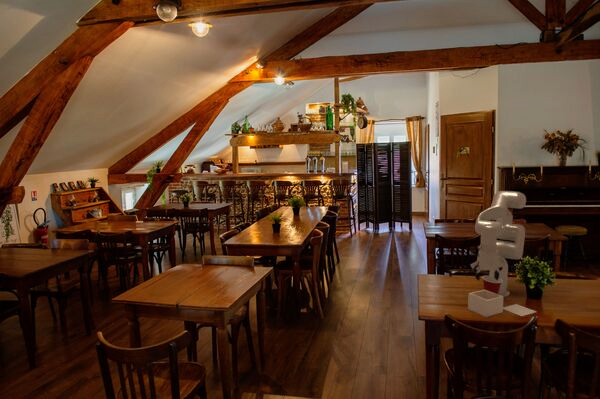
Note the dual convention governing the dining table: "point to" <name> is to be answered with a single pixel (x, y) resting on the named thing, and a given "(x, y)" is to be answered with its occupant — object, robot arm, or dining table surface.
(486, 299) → the white open box
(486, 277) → the plastic cup
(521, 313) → the mat
